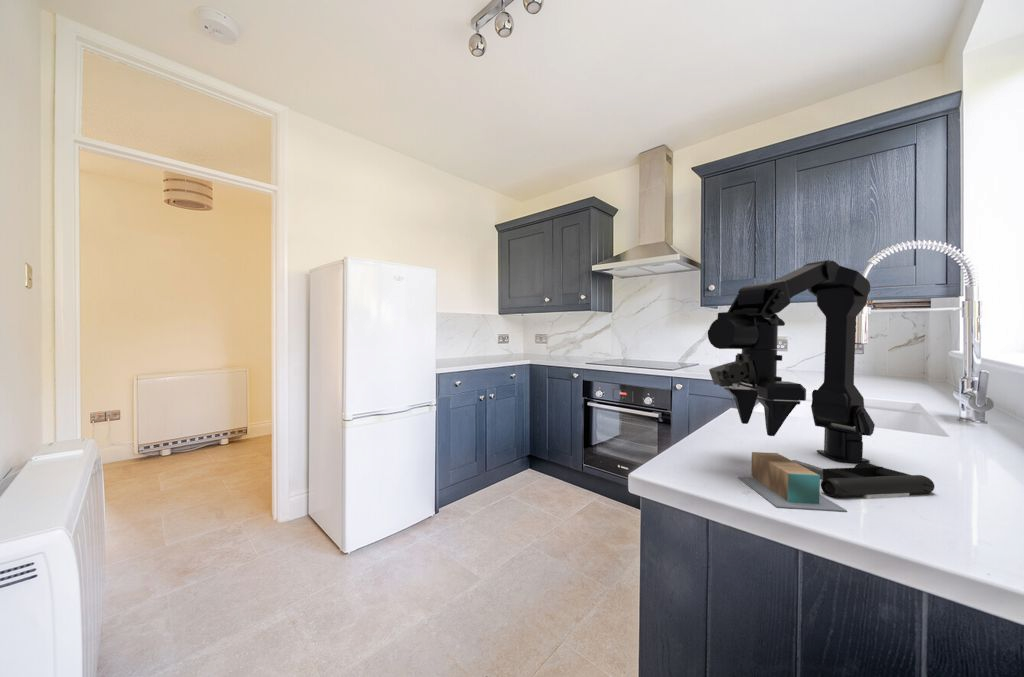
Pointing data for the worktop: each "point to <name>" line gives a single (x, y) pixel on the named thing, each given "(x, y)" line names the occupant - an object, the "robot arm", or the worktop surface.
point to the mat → (782, 503)
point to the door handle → (869, 481)
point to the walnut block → (786, 478)
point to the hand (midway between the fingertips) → (756, 429)
